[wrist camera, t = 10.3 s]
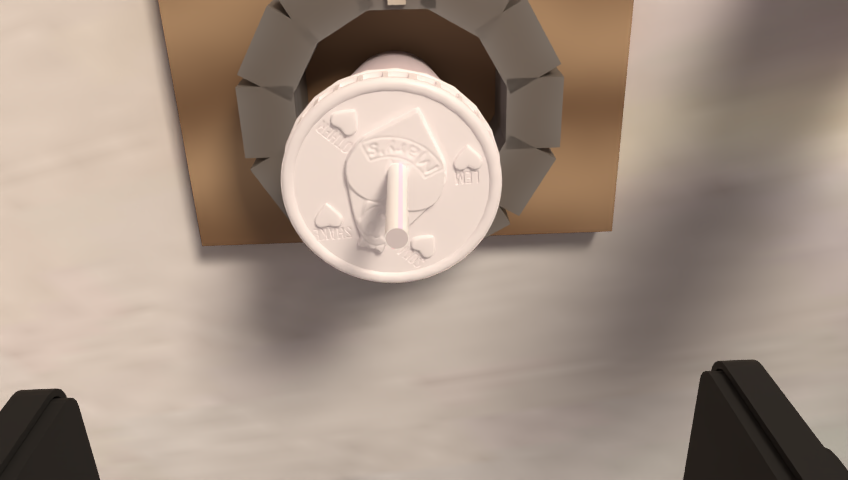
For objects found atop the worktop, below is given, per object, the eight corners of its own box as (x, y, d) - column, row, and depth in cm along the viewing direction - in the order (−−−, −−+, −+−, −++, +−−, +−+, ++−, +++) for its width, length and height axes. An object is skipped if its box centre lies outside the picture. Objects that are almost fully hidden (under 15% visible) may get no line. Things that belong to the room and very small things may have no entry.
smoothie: (498, 45, 29) (572, 175, 16) (443, 190, 31) (471, 399, 19) (339, -9, 28) (286, 85, 15) (297, 146, 30) (222, 335, 18)
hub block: (603, 217, 34) (636, 272, 29) (210, 231, 33) (178, 289, 29) (630, -94, 28) (677, -89, 23) (156, -80, 28) (105, -71, 23)
